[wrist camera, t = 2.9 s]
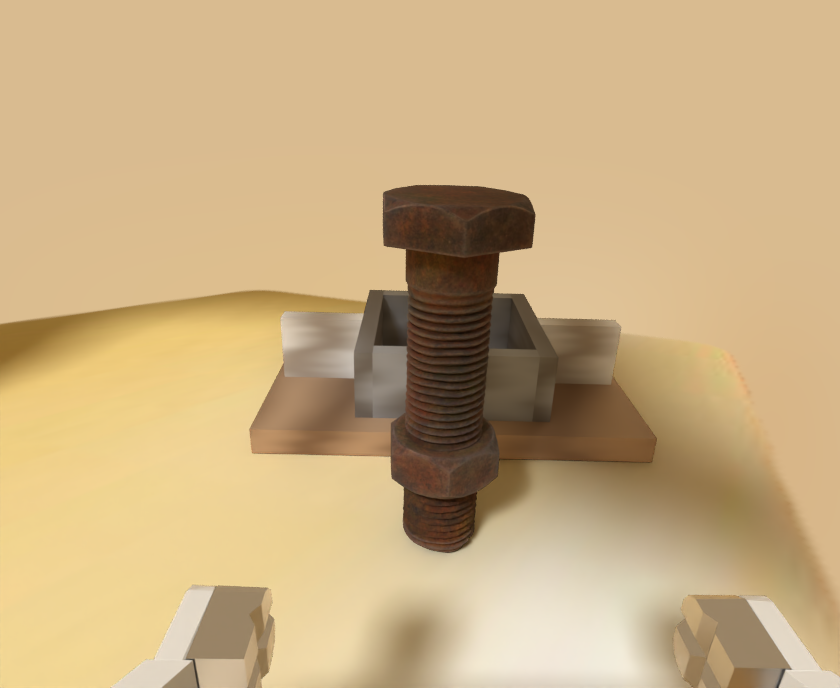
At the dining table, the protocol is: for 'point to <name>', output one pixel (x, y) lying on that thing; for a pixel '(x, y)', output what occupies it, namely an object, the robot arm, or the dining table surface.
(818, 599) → the dining table surface
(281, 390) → the square frame on board
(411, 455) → the bolt
